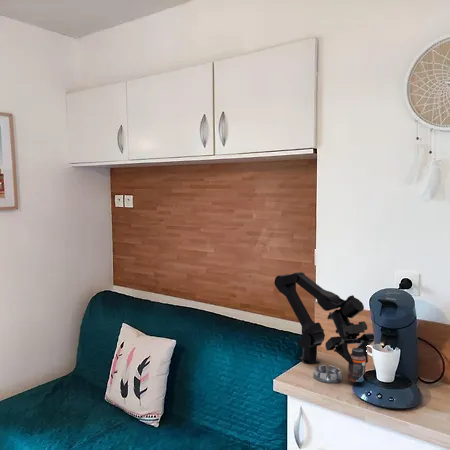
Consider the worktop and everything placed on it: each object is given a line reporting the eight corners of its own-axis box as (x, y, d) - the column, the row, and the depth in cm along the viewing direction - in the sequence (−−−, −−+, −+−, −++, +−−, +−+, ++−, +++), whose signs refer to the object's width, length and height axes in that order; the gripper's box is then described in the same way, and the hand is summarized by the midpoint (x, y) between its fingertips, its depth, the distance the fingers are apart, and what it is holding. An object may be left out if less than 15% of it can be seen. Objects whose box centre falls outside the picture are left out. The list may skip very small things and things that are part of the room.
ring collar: (309, 372, 173) (309, 365, 173) (334, 371, 175) (334, 363, 175) (320, 384, 163) (320, 376, 162) (347, 382, 165) (347, 374, 165)
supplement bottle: (367, 383, 161) (369, 352, 160) (352, 383, 160) (353, 352, 159) (360, 376, 167) (361, 346, 166) (345, 376, 166) (346, 346, 165)
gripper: (331, 315, 162) (348, 356, 153) (373, 312, 169) (392, 351, 159) (318, 330, 170) (333, 370, 161) (359, 326, 177) (376, 364, 167)
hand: (359, 363), depth 162 cm, fingers closed on supplement bottle, 6 cm apart
